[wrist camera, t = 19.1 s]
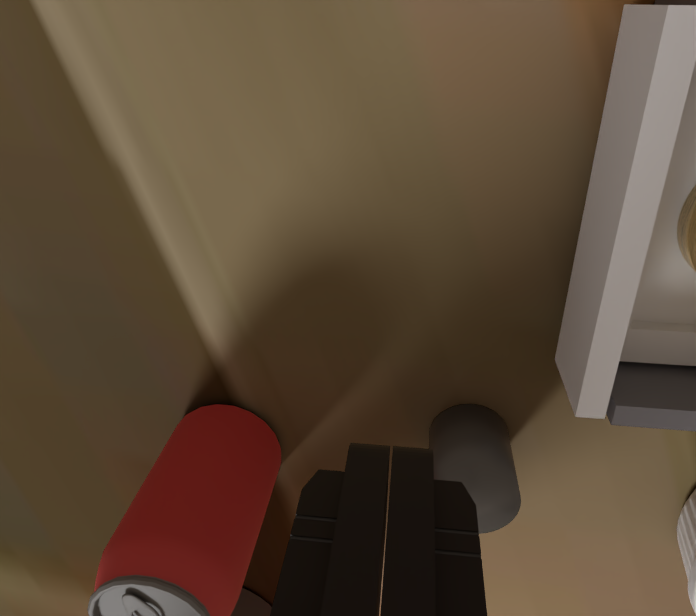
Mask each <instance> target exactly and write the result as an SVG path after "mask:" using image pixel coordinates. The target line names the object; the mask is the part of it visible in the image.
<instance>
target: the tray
mask: <svg viewBox="0 0 696 616" xmlns="http://www.w3.org/2000/svg"><path fill="white" fill-rule="evenodd" d="M695 185H696V5H629V4H624V8H623V13H622V18H621V23H620V29H619V34H618V39H617V44H616V49H615V54H614V59H613V64H612V69H611V75H610V80H609V85H608V90H607V95H606V100H605V105H604V110H603V115H602V120H601V126H600V131H599V136H598V141H597V146H596V151H595V156H594V161H593V166H592V172H591V177H590V182H589V187H588V192H587V197H586V202H585V207H584V212H583V217H582V223H581V228H580V233H579V238H578V243H577V248H576V253H575V258H574V263H573V268H572V274H571V279H570V284H569V289H568V294H567V299H566V304H565V309H564V314H563V320H562V325H561V330H560V335H559V340H558V345H557V350H556V355H555V362H556V364H557V367H558V370H559V373H560V376H561V378H562V381H563V384H564V387H565V390H566V392H567V395H568V398H569V401H570V403H571V406H572V409H573V412H574V415H575V417H584V418H598V419H605V415H606V411H607V407H608V403H609V400H610V396H611V392H612V388H613V384H614V380H615V376H616V372H617V368H618V364H619V361H625V362H640V363H656V364H671V365H686V366H696V272H695V271H694V270H693V269H692V268H691V267H690V266H689V264H688V263H687V262H686V260H685V259H684V257H683V256H682V253H681V251H680V249H679V245H678V241H677V224H678V219H679V215H680V212H681V209H682V206H683V204H684V202H685V200H686V198H687V197H688V195H689V194H690V192H691V191H692V189H693V188H694V187H695Z"/></svg>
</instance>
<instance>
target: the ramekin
mask: <svg viewBox="0 0 696 616" xmlns="http://www.w3.org/2000/svg"><path fill="white" fill-rule="evenodd" d="M677 539H678V543H679V547H680V551H681V555H682V559H683V563H684V567H685V570H686V574H687V578H688V593H689V598H690V602H691V604H692V607H693V609H694V611H695V613H696V489H695V490H694V491H693V493H692V494H691V495H690V497H689V498H688V500H687V501H686V503H685V505H684V507H683V508H682V510H681V514H680V516H679V519H678V525H677Z"/></svg>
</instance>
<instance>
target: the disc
mask: <svg viewBox="0 0 696 616" xmlns="http://www.w3.org/2000/svg"><path fill="white" fill-rule="evenodd" d="M677 241H678V245H679V249H680V251H681V253H682V256H683V257H684V259H685V260H686V262H687V263H688V264H689V266H690V267H691V268H692V269H693V270H694V271H695V272H696V185H695V187H694V188H693V189H692V191H691V192H690V194H689V195H688V197H687V198H686V200H685V202H684V204H683V206H682V209H681V212H680V215H679V219H678V224H677Z"/></svg>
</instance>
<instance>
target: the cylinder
mask: <svg viewBox="0 0 696 616" xmlns="http://www.w3.org/2000/svg"><path fill="white" fill-rule="evenodd" d="M429 449H433V460H434V479H435V480H446V481H458V482H462V483H463V485H464V486H465V488H466V489H467V491H468V493H469V494H470V496H471V498H472V499H473V501H474V503H475V504H476V509H477V519H478V529H479V534H480V533H488V532H492V531H495V530H498V529H500V528H502V527H504V526H506V525H507V524H508V523H510V522H511V521H512V520H513V519H514V518H515V516H516V515H517V513H518V511H519V509H520V504H521V498H520V492H519V487H518V481H517V476H516V471H515V466H514V460H513V455H512V450H511V445H510V439H509V434H508V429H507V426H506V424H505V422H504V421H503V419H502V418H501V417H500V416H499V415H498V414H497V413H496V412H494V411H493V410H491V409H489V408H486V407H484V406H480V405H474V404H463V405H457V406H454V407H451V408H448V409H446V410H445V411H443V412H442V413H440V414H439V415H438V416H437V417H436V418H435V420H434V421H433V423H432V424H431V427H430V431H429Z"/></svg>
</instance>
